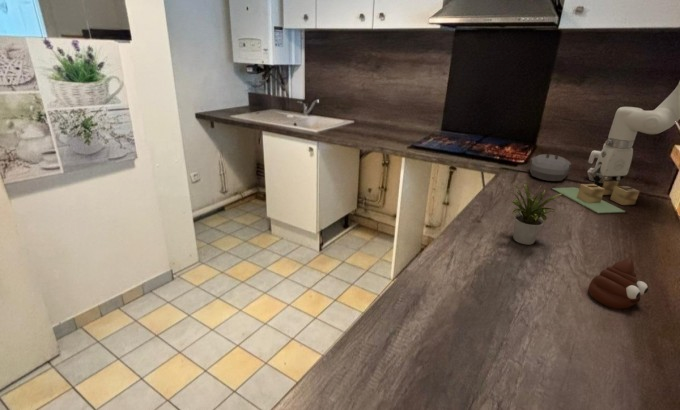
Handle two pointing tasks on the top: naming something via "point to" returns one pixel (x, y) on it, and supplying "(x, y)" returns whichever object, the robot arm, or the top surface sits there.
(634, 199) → the letter T
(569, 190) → the word mat
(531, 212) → the house plant
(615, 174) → the robot arm
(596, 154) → the figurine
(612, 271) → the poop emoji
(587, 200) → the letter I
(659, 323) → the top surface
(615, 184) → the letter L
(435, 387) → the top surface
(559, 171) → the small grey backpack
